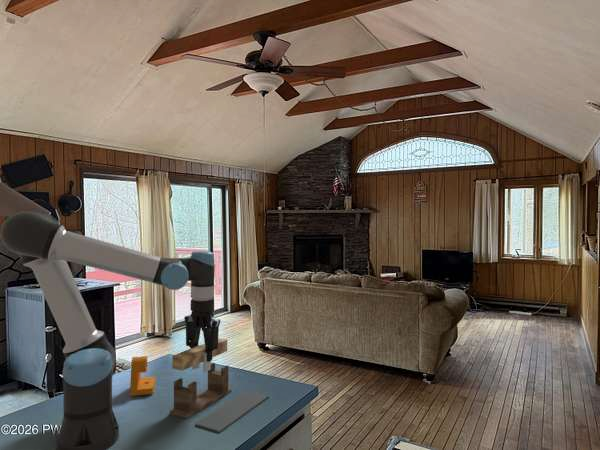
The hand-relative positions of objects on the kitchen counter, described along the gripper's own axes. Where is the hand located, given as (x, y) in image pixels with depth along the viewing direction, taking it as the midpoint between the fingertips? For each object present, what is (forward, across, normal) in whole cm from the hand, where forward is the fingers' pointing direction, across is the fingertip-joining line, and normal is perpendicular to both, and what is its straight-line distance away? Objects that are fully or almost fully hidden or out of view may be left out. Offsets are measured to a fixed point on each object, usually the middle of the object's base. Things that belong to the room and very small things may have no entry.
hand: (201, 369), depth 134 cm
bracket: (+11, 0, 0) cm, 11 cm away
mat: (+11, -13, 0) cm, 17 cm away
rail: (-3, 0, 0) cm, 3 cm away
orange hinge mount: (+11, +24, +2) cm, 27 cm away
